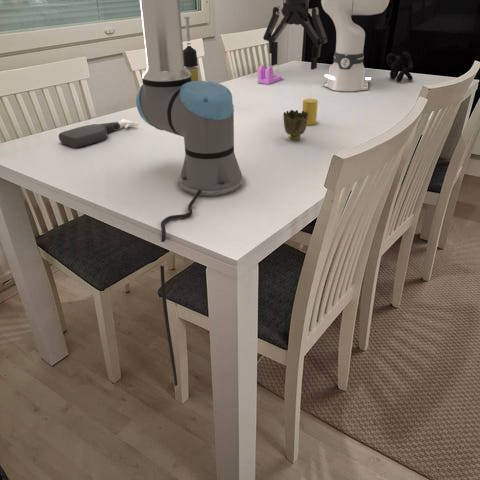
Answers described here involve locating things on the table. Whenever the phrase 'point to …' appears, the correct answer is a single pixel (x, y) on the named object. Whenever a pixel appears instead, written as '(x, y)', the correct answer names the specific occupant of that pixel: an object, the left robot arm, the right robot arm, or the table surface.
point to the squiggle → (399, 66)
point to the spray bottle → (91, 133)
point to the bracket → (267, 75)
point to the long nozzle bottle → (190, 55)
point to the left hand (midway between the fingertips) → (293, 66)
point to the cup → (295, 123)
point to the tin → (310, 110)
